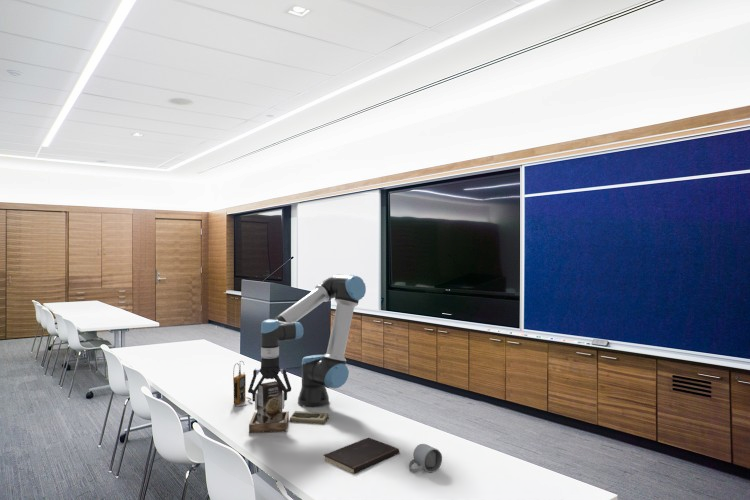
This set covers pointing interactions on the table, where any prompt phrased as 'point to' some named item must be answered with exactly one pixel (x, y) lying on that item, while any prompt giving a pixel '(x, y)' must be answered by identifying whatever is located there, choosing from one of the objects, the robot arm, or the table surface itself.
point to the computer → (309, 417)
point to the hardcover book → (361, 455)
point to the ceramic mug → (426, 459)
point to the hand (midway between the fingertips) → (269, 408)
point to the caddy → (269, 425)
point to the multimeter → (239, 387)
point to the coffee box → (269, 403)
